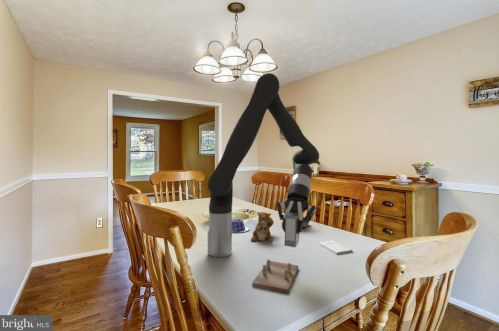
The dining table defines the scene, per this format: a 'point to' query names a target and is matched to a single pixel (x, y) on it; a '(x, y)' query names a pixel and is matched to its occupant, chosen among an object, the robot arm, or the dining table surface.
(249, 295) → the dining table surface
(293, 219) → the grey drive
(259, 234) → the stuffed squirrel
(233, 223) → the pudding
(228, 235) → the robot arm
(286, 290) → the wooden peg stand
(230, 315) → the dining table surface
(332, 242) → the external hard drive
